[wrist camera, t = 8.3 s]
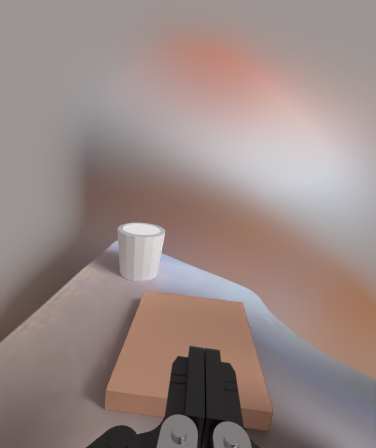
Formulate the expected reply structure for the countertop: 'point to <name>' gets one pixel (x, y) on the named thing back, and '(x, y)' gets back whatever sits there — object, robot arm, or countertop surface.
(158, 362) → the tile
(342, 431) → the countertop surface
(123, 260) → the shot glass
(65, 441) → the countertop surface
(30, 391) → the countertop surface
